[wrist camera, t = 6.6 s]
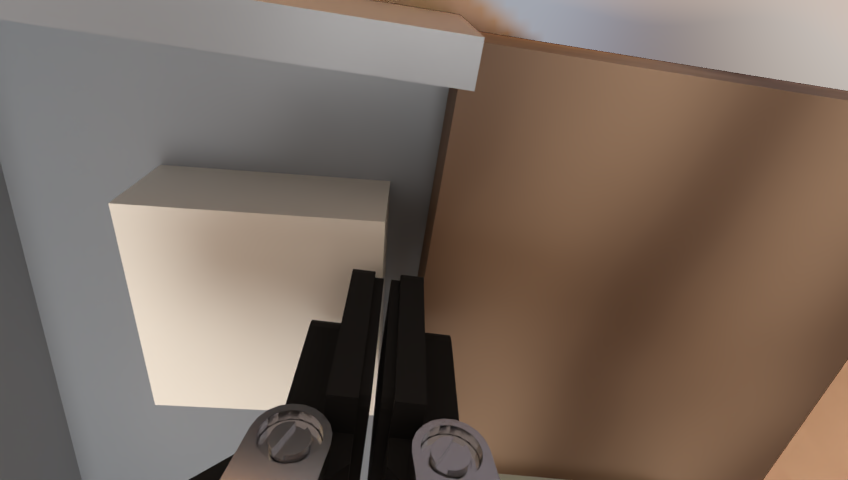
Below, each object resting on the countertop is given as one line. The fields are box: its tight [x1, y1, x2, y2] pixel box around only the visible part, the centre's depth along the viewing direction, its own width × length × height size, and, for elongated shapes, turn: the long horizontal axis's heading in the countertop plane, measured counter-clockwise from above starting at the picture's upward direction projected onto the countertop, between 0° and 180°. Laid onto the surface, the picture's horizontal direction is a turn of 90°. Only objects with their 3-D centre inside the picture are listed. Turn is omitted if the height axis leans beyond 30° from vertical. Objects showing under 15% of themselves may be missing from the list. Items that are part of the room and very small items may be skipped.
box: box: [0, 0, 485, 480], centre depth 14 cm, size 12×21×5 cm, turn 172°
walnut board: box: [417, 31, 848, 480], centre depth 16 cm, size 12×20×2 cm, turn 171°
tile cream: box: [108, 165, 390, 415], centre depth 13 cm, size 6×6×2 cm
